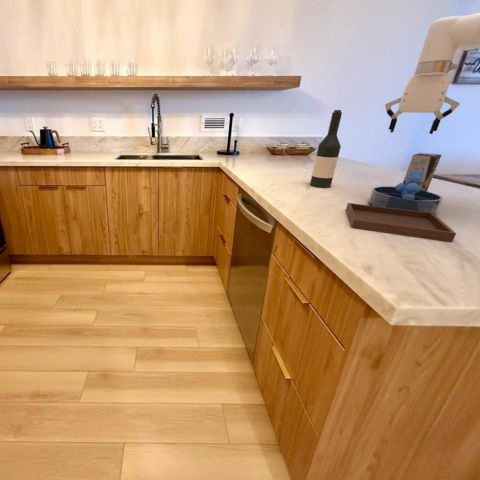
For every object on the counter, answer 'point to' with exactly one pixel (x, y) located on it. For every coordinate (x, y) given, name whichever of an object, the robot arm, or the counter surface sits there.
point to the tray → (399, 222)
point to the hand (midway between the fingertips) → (410, 132)
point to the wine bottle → (327, 155)
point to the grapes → (410, 185)
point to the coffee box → (423, 168)
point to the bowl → (405, 200)
